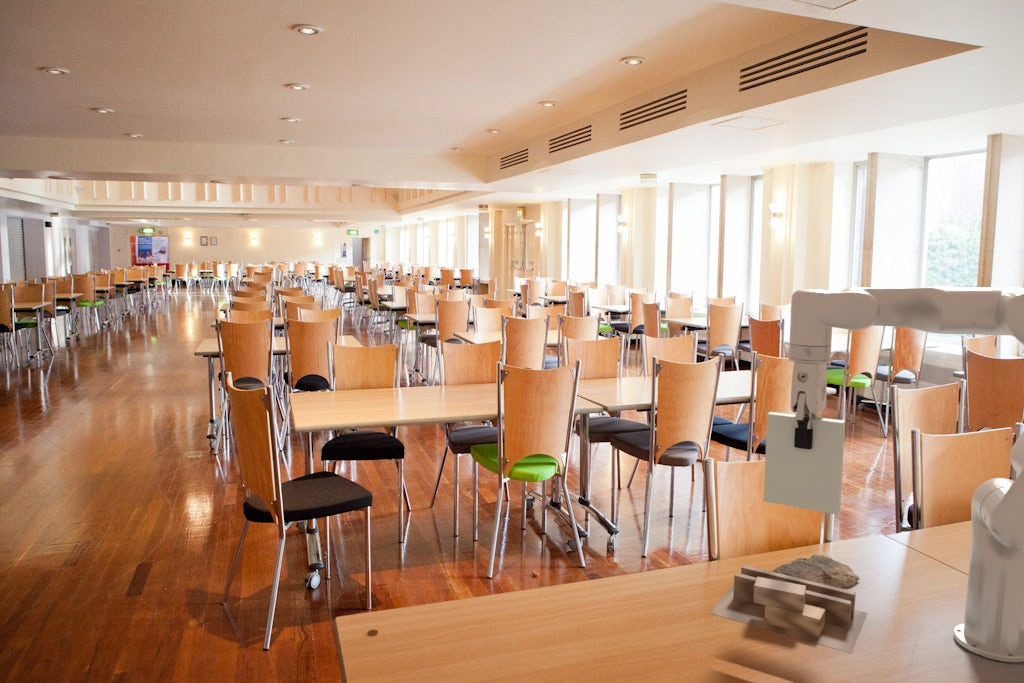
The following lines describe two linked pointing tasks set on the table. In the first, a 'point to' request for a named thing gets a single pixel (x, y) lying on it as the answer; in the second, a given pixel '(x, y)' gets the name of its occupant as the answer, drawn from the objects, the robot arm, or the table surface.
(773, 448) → the panel
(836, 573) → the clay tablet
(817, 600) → the rack
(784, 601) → the offcut upper
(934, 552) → the table surface
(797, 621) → the offcut lower
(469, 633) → the table surface
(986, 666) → the table surface
